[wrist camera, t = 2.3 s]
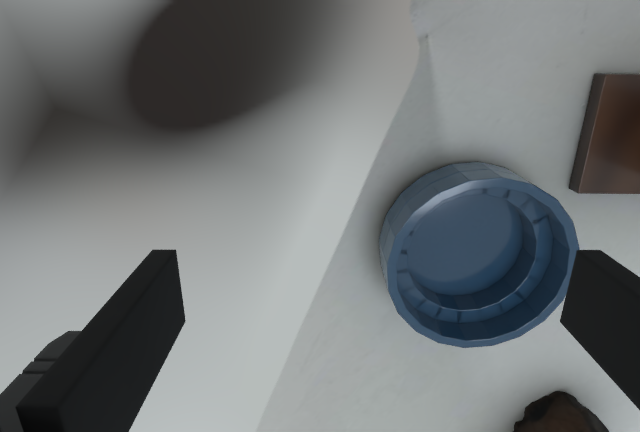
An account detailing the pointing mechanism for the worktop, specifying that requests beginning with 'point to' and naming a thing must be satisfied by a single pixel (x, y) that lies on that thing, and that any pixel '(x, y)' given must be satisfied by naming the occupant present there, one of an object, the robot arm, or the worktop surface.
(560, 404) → the jagged boulder
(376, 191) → the worktop surface
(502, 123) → the worktop surface
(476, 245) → the bowl
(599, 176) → the stand
